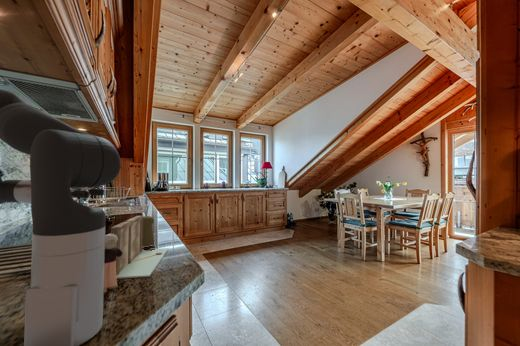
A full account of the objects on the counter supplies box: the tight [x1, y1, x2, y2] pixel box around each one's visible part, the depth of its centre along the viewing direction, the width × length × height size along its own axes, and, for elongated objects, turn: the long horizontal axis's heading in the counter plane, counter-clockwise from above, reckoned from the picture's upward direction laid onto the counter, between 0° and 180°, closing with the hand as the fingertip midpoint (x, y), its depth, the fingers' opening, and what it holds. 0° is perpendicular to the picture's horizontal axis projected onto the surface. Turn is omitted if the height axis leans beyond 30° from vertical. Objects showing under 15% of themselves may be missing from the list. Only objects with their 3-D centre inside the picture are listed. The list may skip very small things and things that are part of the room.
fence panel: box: [124, 215, 144, 262], centre depth 72 cm, size 11×2×12 cm, turn 10°
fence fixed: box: [110, 221, 130, 276], centre depth 62 cm, size 8×2×12 cm, turn 10°
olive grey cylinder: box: [142, 215, 155, 246], centre depth 86 cm, size 6×6×11 cm
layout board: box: [116, 247, 170, 280], centre depth 69 cm, size 23×12×1 cm, turn 10°
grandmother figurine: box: [103, 233, 124, 294], centre depth 53 cm, size 8×4×13 cm, turn 168°
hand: (96, 193), depth 74 cm, fingers open, 8 cm apart
